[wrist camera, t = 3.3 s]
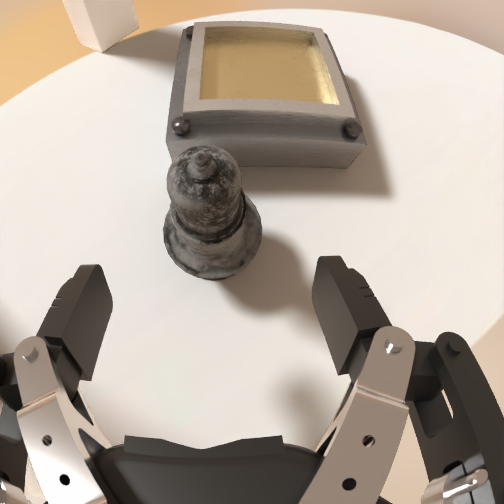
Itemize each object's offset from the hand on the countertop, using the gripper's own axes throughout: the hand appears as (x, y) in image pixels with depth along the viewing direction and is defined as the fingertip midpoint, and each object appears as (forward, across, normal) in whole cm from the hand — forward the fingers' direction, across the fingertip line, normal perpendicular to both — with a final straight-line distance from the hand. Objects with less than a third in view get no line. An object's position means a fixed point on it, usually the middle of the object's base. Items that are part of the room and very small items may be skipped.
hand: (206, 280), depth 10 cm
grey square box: (+18, -4, -5) cm, 19 cm away
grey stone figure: (+9, 0, +4) cm, 10 cm away
